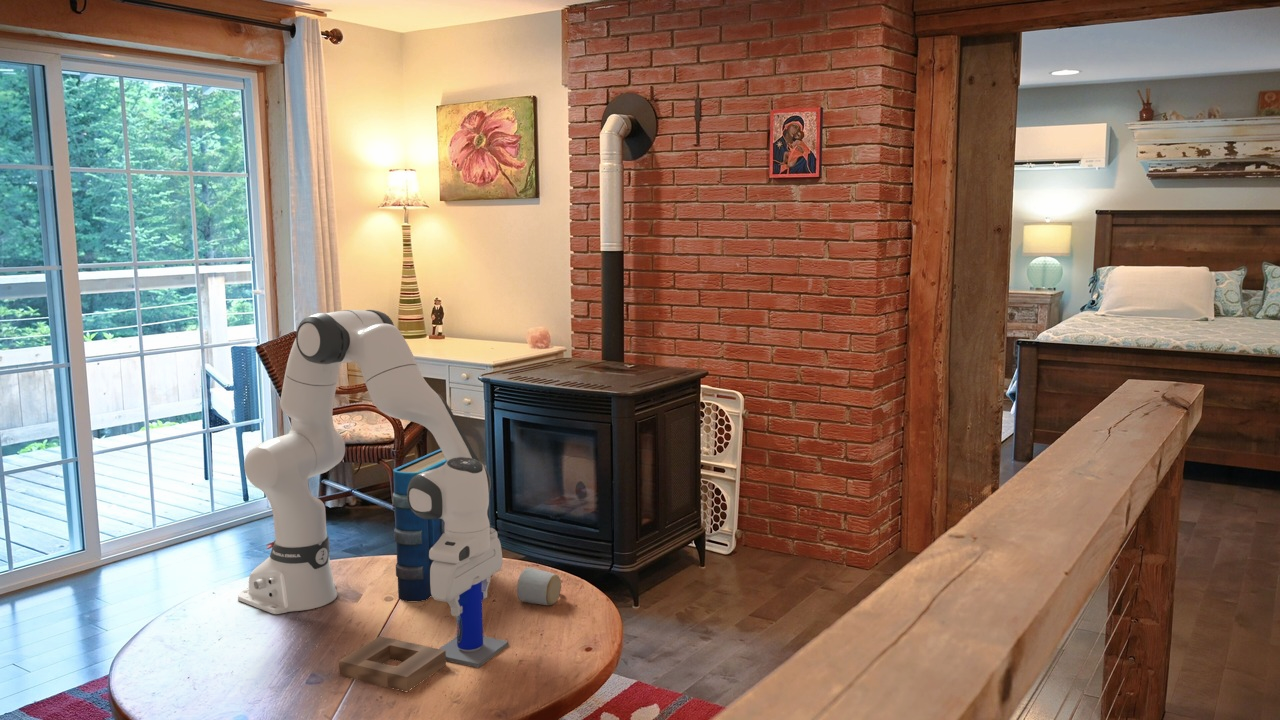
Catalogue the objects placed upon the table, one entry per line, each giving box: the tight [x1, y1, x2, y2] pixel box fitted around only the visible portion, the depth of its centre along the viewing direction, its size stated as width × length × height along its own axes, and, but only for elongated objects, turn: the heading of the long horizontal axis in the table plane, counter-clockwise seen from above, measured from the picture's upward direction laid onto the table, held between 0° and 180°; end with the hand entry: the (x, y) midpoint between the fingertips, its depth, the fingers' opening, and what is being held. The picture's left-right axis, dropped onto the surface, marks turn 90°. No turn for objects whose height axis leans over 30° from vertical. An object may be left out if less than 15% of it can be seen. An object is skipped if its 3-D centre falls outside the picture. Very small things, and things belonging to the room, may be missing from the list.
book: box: [392, 448, 447, 602], centre depth 226 cm, size 24×9×30 cm, turn 161°
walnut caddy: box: [338, 635, 447, 692], centre depth 184 cm, size 16×12×3 cm
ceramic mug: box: [516, 567, 562, 606], centre depth 218 cm, size 11×8×8 cm
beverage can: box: [455, 576, 484, 652], centre depth 192 cm, size 5×5×15 cm
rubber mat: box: [438, 635, 510, 669], centre depth 193 cm, size 11×11×1 cm
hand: (469, 606), depth 191 cm, fingers open, 7 cm apart
